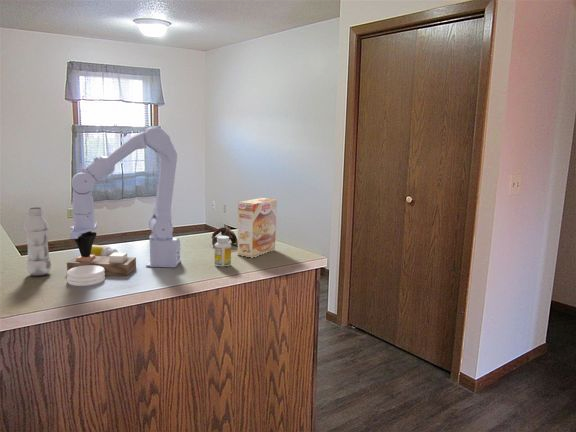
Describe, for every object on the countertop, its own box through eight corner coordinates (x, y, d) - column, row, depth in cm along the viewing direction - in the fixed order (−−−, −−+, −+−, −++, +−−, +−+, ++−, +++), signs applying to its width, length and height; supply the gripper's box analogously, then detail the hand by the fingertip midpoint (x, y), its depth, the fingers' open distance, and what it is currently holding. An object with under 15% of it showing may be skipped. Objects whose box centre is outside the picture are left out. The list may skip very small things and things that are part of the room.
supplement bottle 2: (214, 267, 149) (214, 238, 148) (214, 263, 155) (214, 235, 153) (231, 267, 150) (231, 238, 149) (230, 262, 156) (230, 235, 154)
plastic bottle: (35, 279, 132) (30, 211, 129) (22, 275, 136) (17, 208, 132) (56, 274, 138) (52, 208, 134) (43, 269, 141) (39, 205, 138)
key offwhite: (127, 262, 144) (127, 252, 143) (122, 265, 140) (122, 256, 139) (114, 261, 144) (114, 252, 143) (109, 265, 140) (109, 255, 139)
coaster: (94, 273, 140) (93, 262, 140) (111, 281, 134) (111, 269, 133) (61, 281, 133) (60, 269, 132) (77, 289, 126) (77, 277, 126)
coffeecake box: (252, 259, 161) (253, 203, 157) (236, 255, 165) (237, 201, 161) (276, 250, 174) (277, 199, 170) (260, 247, 177) (261, 197, 174)
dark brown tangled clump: (240, 249, 175) (230, 232, 171) (218, 259, 175) (207, 242, 172) (239, 235, 185) (230, 218, 182) (218, 244, 186) (209, 228, 182)
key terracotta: (95, 264, 144) (95, 254, 143) (90, 267, 140) (89, 258, 139) (82, 263, 144) (82, 254, 143) (76, 267, 140) (76, 257, 139)
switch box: (136, 268, 146) (135, 257, 146) (127, 276, 138) (126, 264, 138) (79, 266, 146) (78, 255, 146) (67, 273, 138) (66, 262, 138)
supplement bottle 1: (84, 263, 151) (111, 265, 149) (81, 247, 149) (109, 250, 147) (94, 257, 156) (120, 259, 154) (92, 242, 154) (118, 244, 152)
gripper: (81, 208, 146) (83, 249, 149) (58, 216, 132) (61, 262, 134) (103, 209, 146) (105, 250, 149) (83, 217, 132) (85, 263, 134)
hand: (85, 256), depth 141 cm, fingers closed, pressing on key terracotta
